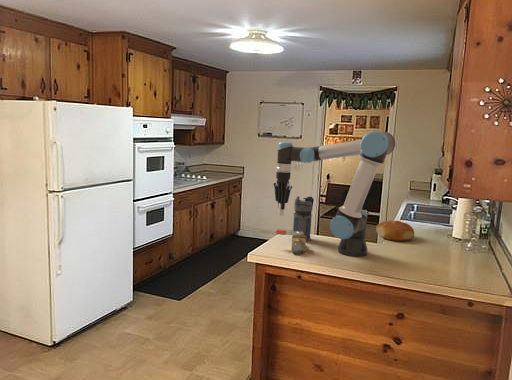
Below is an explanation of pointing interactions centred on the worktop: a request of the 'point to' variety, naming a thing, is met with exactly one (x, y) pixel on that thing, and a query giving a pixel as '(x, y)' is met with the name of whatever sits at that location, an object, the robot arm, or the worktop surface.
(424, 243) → the worktop surface
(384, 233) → the bread
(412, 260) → the worktop surface
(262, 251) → the worktop surface
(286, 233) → the lever
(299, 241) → the valve pipe
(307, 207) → the beverage bottle
